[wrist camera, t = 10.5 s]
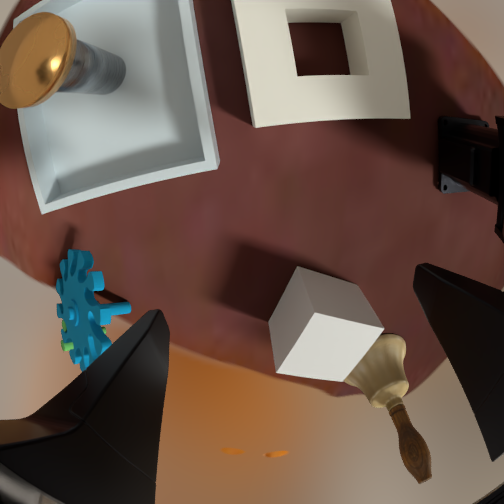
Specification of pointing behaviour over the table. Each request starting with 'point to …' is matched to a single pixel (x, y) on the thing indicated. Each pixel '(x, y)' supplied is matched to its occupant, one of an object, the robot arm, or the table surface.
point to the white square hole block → (321, 86)
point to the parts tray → (123, 105)
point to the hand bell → (392, 398)
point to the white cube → (321, 327)
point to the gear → (84, 309)
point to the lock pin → (53, 63)
